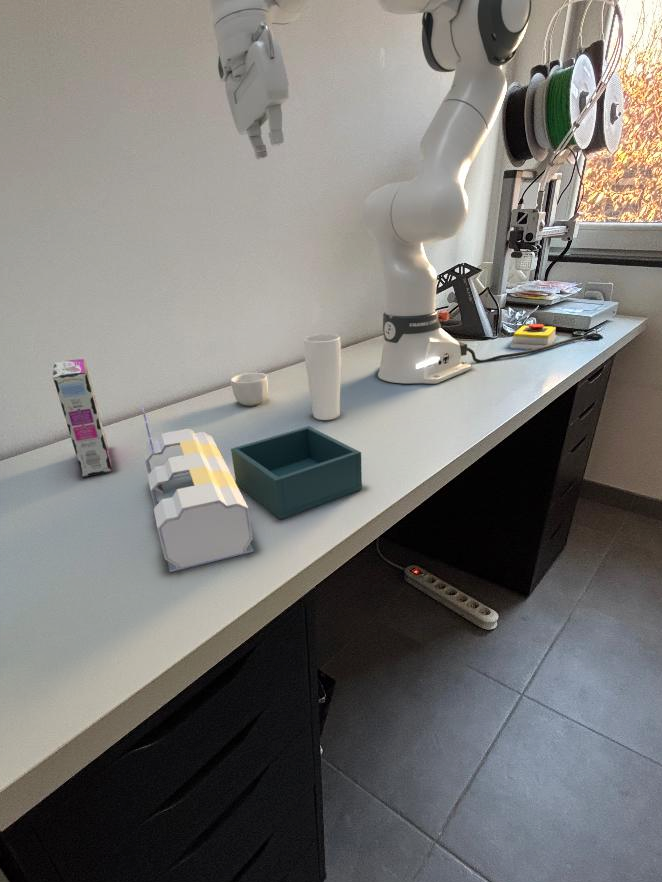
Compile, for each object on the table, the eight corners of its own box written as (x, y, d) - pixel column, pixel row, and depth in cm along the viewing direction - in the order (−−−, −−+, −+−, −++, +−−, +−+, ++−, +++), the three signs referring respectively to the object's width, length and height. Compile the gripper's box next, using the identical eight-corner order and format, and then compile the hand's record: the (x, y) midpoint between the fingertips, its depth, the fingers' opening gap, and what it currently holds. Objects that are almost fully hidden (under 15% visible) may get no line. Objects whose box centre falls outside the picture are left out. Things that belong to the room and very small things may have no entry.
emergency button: (559, 321, 146) (548, 332, 135) (556, 337, 148) (545, 350, 137) (524, 319, 150) (510, 330, 139) (522, 335, 152) (508, 347, 141)
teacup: (257, 410, 109) (253, 384, 107) (226, 406, 113) (223, 381, 110) (281, 395, 117) (279, 371, 114) (252, 392, 120) (249, 368, 118)
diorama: (151, 484, 82) (131, 402, 75) (217, 471, 84) (203, 390, 78) (168, 572, 61) (142, 470, 55) (254, 551, 64) (240, 451, 57)
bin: (311, 459, 86) (309, 425, 83) (362, 489, 76) (361, 452, 73) (236, 484, 80) (230, 448, 77) (280, 519, 70) (275, 480, 67)
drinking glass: (340, 423, 100) (337, 341, 92) (305, 422, 101) (299, 342, 94) (346, 410, 106) (343, 333, 98) (313, 410, 107) (307, 334, 100)
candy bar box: (114, 471, 87) (87, 372, 79) (82, 478, 85) (50, 377, 77) (109, 448, 96) (84, 356, 88) (80, 454, 94) (51, 361, 86)
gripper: (286, 13, 74) (308, 131, 80) (250, 69, 91) (270, 162, 98) (243, 18, 72) (269, 138, 78) (215, 74, 90) (238, 168, 96)
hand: (269, 151), depth 88 cm, fingers open, 8 cm apart
